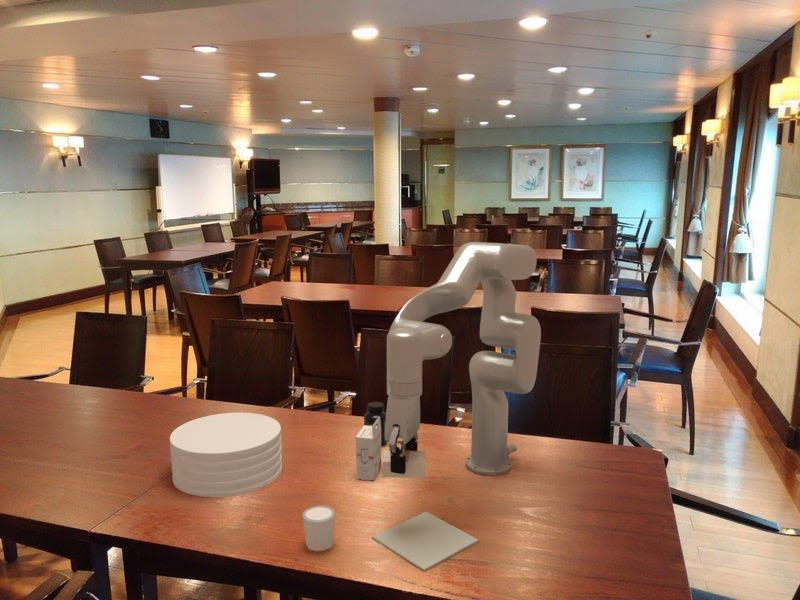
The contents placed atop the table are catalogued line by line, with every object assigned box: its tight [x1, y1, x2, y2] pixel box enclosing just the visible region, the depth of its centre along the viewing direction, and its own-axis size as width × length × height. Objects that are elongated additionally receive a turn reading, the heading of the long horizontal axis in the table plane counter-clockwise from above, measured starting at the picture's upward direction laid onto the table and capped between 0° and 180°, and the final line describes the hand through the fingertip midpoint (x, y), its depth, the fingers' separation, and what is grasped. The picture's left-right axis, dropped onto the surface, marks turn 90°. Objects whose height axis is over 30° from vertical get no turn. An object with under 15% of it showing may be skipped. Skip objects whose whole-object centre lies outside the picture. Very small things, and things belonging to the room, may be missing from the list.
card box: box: [381, 449, 426, 479], centre depth 139 cm, size 9×6×4 cm, turn 86°
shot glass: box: [301, 505, 336, 552], centre depth 135 cm, size 7×7×7 cm
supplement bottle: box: [363, 401, 388, 448], centre depth 187 cm, size 7×7×12 cm
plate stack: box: [169, 412, 283, 498], centre depth 169 cm, size 28×28×12 cm
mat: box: [371, 511, 479, 573], centre depth 137 cm, size 16×16×1 cm
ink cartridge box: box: [355, 416, 382, 481], centre depth 167 cm, size 9×5×15 cm, turn 168°
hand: (404, 464), depth 139 cm, fingers closed on card box, 7 cm apart
